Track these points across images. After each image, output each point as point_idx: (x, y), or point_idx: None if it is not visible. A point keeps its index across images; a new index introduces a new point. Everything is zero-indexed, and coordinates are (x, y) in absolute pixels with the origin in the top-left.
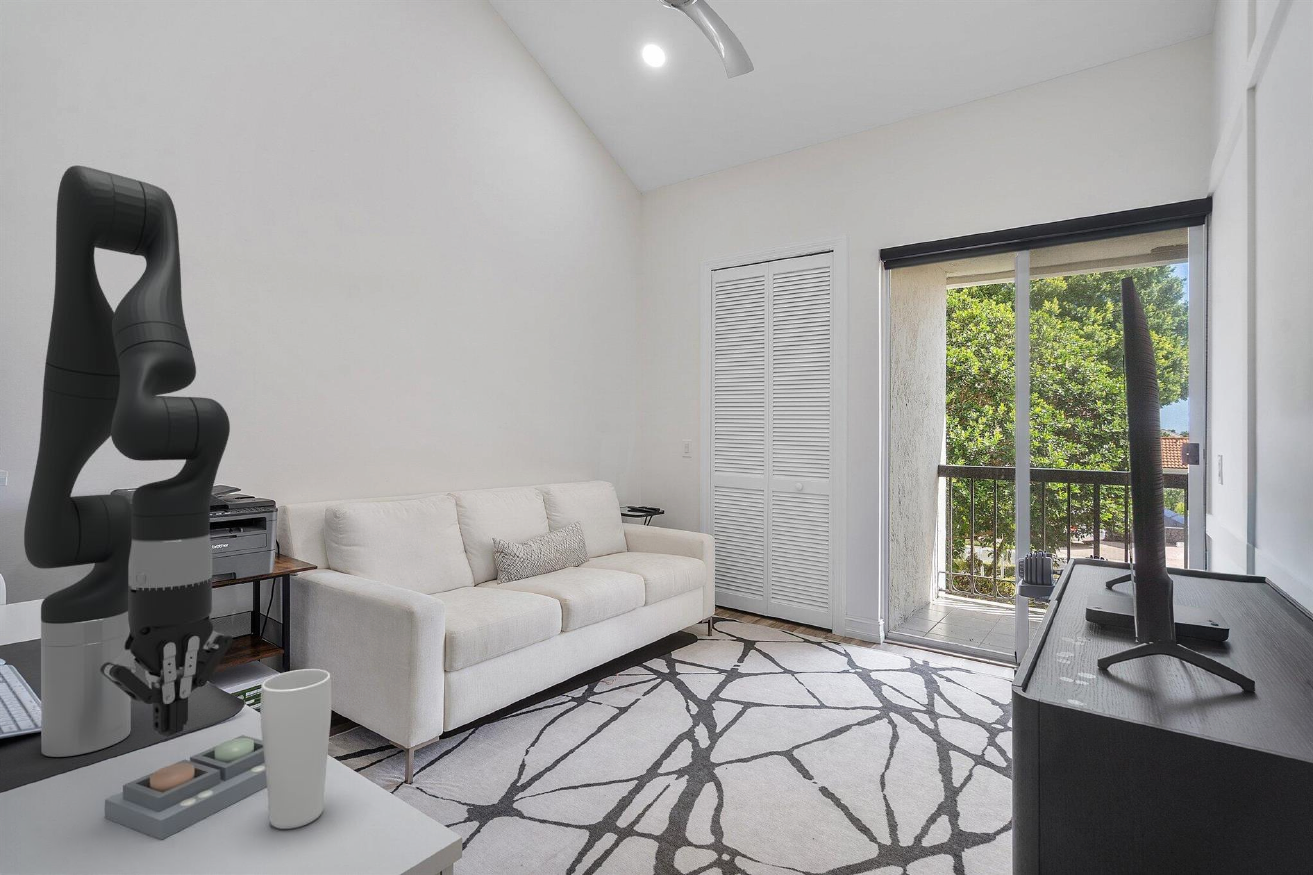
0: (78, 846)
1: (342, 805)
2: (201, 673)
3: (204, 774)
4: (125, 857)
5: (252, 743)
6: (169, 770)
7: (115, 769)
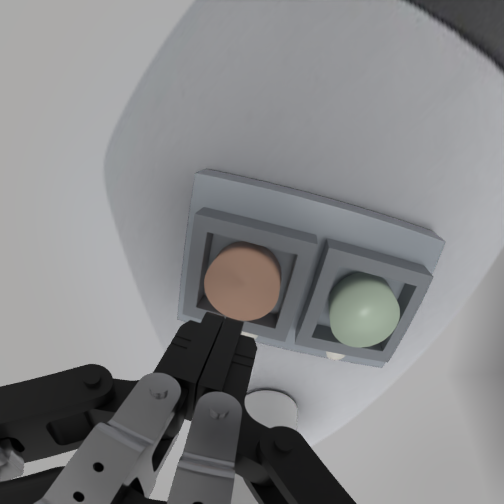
0: (143, 208)
1: (299, 426)
2: (256, 498)
3: (265, 328)
4: (149, 289)
5: (373, 344)
6: (245, 277)
7: (352, 25)
